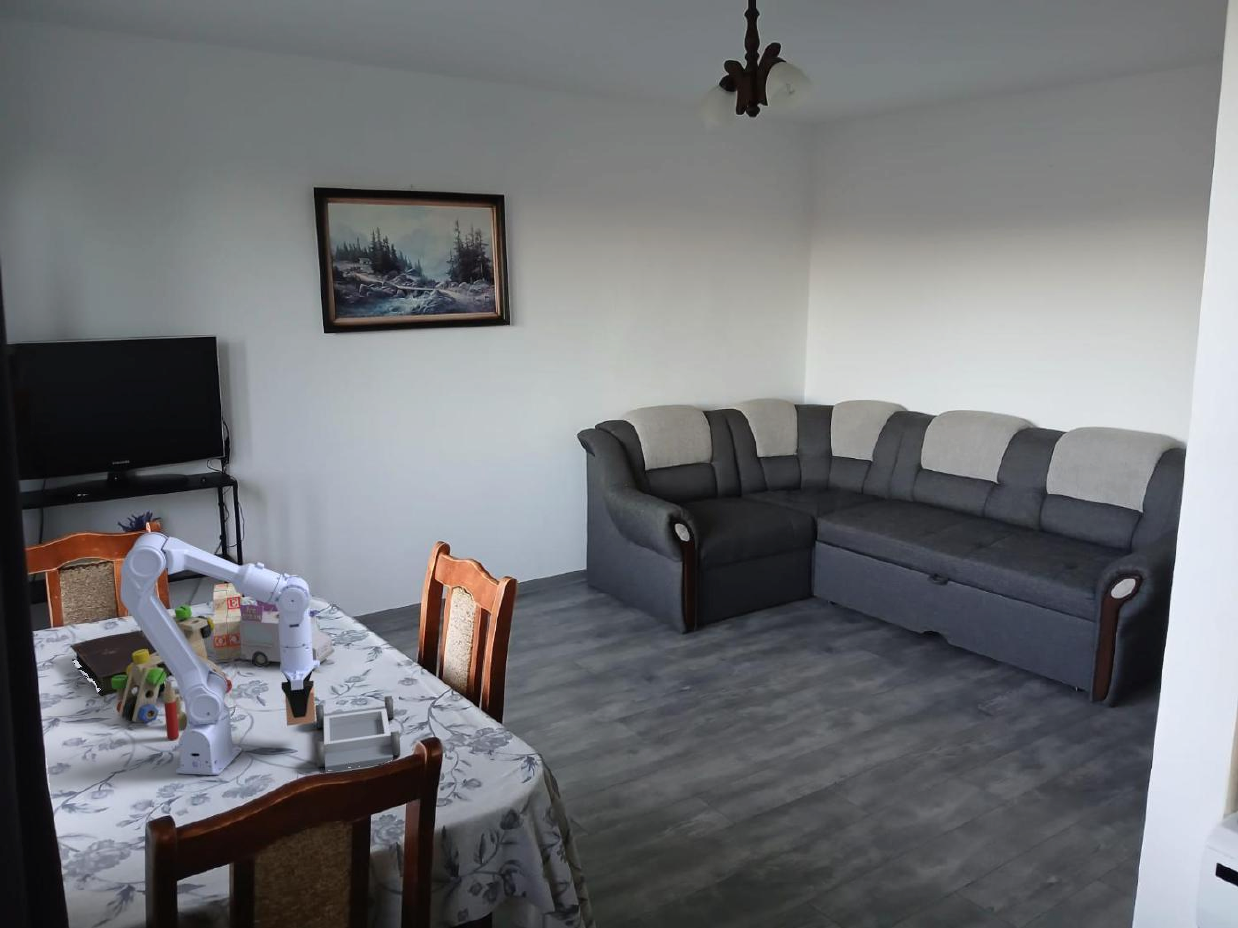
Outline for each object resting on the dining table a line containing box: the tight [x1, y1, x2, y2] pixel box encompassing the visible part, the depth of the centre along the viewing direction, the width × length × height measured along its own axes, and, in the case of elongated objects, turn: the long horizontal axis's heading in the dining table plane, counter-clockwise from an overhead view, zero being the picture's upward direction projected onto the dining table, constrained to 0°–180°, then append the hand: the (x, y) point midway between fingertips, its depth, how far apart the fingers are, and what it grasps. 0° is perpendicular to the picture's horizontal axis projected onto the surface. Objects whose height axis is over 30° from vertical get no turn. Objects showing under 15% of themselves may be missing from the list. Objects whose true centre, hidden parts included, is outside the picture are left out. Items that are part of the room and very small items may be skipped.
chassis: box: [315, 695, 401, 773], centre depth 182 cm, size 22×15×4 cm
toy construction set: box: [111, 604, 233, 741], centre depth 192 cm, size 27×22×21 cm
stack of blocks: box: [212, 582, 244, 661], centre depth 229 cm, size 21×6×12 cm, turn 21°
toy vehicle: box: [239, 599, 335, 667], centre depth 217 cm, size 9×20×15 cm, turn 78°
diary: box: [69, 629, 174, 697], centre depth 215 cm, size 19×25×5 cm
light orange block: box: [284, 685, 316, 726], centre depth 177 cm, size 5×5×6 cm
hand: (300, 709), depth 178 cm, fingers closed on light orange block, 5 cm apart
